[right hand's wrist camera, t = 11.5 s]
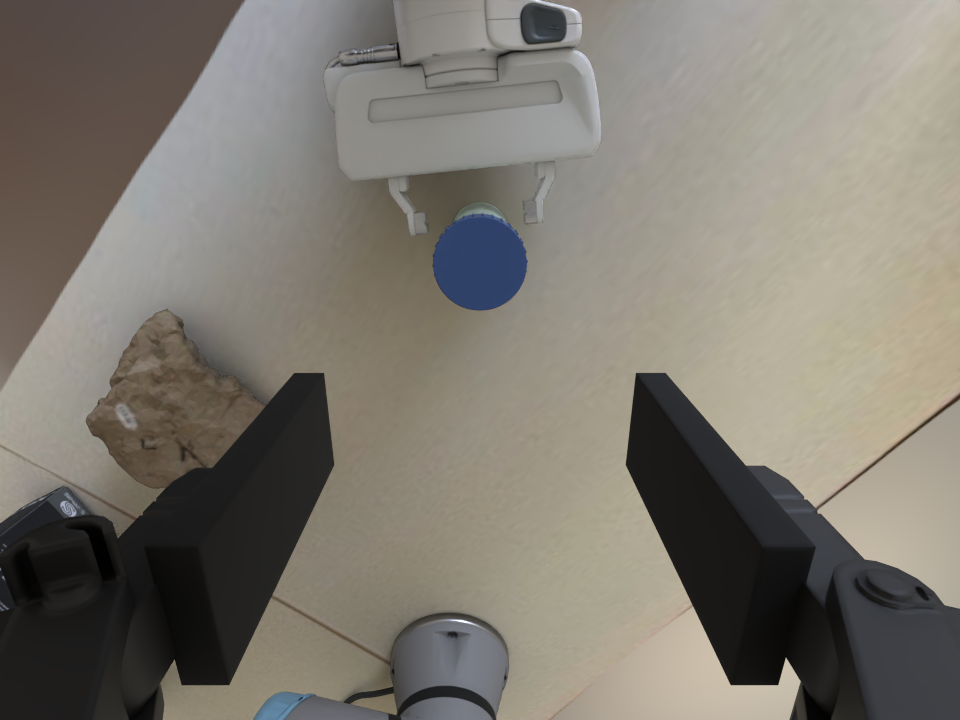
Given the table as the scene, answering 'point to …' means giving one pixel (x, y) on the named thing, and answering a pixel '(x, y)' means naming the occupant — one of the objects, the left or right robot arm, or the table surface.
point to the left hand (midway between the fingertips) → (476, 228)
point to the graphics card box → (36, 525)
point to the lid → (479, 262)
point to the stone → (169, 406)
